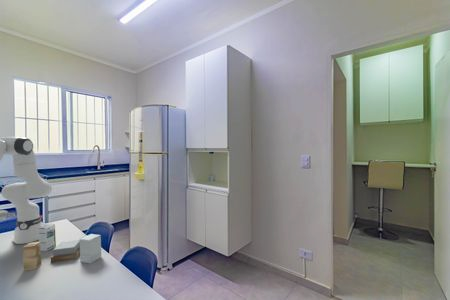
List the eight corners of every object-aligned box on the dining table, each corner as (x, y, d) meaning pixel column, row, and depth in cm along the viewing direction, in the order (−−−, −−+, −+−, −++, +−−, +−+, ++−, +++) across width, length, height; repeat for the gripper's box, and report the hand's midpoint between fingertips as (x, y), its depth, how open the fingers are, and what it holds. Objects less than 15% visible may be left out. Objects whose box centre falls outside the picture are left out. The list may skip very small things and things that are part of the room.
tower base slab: (60, 253, 126) (60, 247, 126) (84, 250, 129) (83, 244, 129) (50, 263, 114) (50, 257, 114) (76, 260, 118) (76, 253, 118)
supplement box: (101, 257, 120) (101, 234, 119) (90, 264, 112) (89, 240, 112) (91, 255, 122) (91, 233, 122) (79, 262, 115) (78, 238, 114)
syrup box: (46, 251, 127) (46, 227, 127) (38, 250, 128) (38, 226, 128) (56, 246, 133) (55, 223, 133) (48, 246, 134) (47, 223, 134)
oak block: (29, 265, 112) (28, 242, 112) (41, 263, 114) (40, 241, 113) (23, 270, 107) (22, 247, 107) (35, 268, 109) (34, 245, 109)
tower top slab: (61, 247, 125) (61, 242, 125) (81, 245, 128) (80, 239, 128) (53, 256, 116) (52, 249, 116) (74, 253, 118) (74, 247, 118)
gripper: (-44, 216, 94) (-2, 214, 99) (-15, 208, 112) (19, 207, 118) (-45, 231, 93) (-3, 228, 99) (-16, 221, 112) (18, 218, 117)
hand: (9, 216), depth 109 cm, fingers open, 8 cm apart
